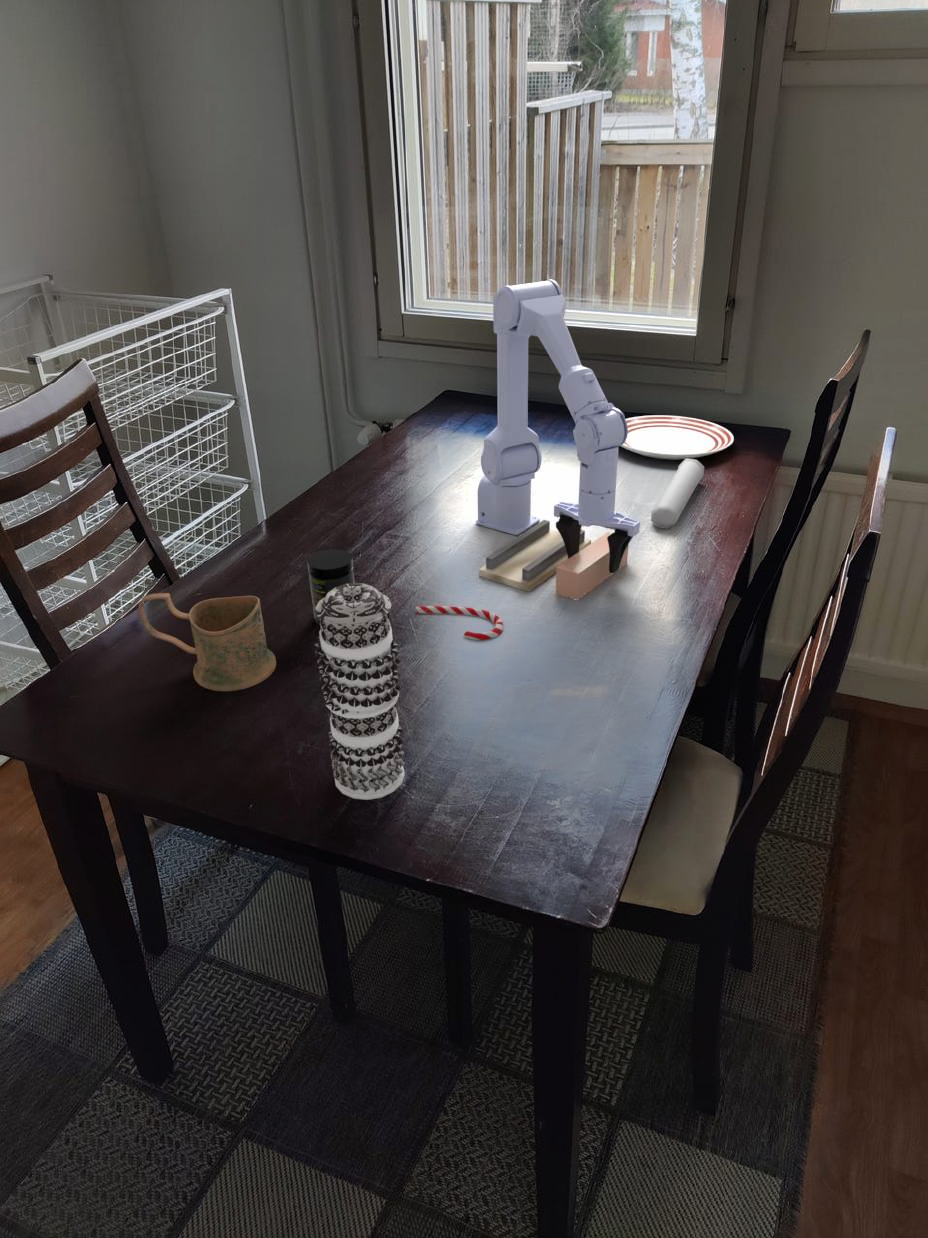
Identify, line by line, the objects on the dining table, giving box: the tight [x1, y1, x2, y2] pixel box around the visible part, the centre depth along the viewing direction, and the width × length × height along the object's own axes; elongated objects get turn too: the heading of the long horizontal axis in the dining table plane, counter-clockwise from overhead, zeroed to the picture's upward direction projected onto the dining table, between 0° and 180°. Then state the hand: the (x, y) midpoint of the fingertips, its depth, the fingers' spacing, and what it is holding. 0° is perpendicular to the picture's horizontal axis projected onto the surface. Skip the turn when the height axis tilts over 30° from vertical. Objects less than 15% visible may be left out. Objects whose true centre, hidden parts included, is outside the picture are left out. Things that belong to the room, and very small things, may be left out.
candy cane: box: [414, 605, 504, 641], centre depth 141 cm, size 8×1×15 cm
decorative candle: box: [314, 582, 406, 801], centre depth 104 cm, size 9×9×25 cm
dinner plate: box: [620, 414, 735, 461], centre depth 204 cm, size 28×27×3 cm
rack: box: [478, 519, 592, 592], centre depth 157 cm, size 10×20×3 cm, turn 143°
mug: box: [138, 592, 277, 692], centre depth 128 cm, size 12×18×12 cm, turn 88°
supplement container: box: [306, 548, 355, 626], centre depth 140 cm, size 7×7×10 cm
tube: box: [650, 458, 705, 529], centre depth 176 cm, size 5×5×25 cm
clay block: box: [555, 531, 630, 601], centre depth 151 cm, size 4×16×5 cm, turn 142°
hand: (593, 564), depth 151 cm, fingers open, 7 cm apart
